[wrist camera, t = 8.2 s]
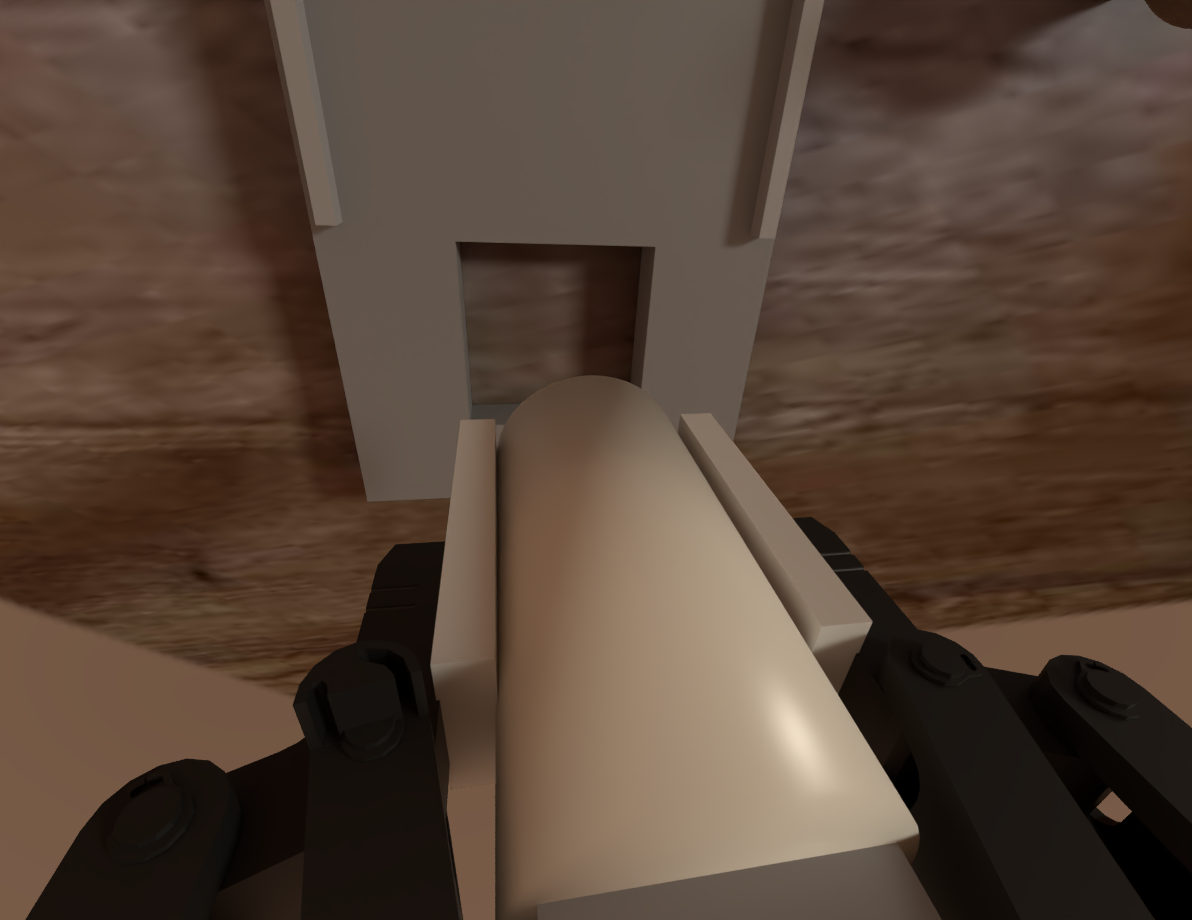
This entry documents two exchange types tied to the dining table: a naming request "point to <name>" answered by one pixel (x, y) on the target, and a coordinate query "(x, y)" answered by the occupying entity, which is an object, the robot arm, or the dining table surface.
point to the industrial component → (1172, 11)
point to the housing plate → (536, 186)
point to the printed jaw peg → (665, 697)
